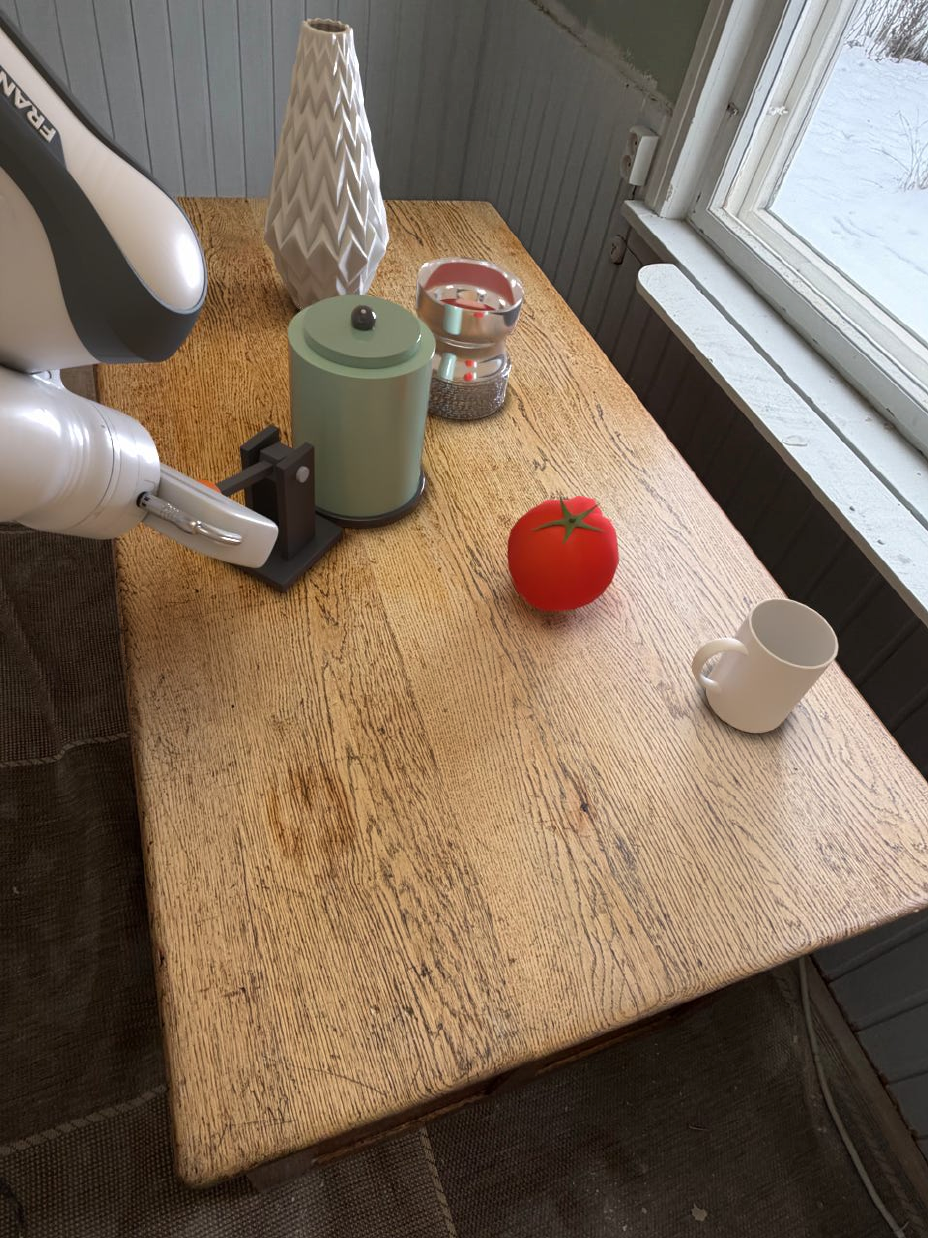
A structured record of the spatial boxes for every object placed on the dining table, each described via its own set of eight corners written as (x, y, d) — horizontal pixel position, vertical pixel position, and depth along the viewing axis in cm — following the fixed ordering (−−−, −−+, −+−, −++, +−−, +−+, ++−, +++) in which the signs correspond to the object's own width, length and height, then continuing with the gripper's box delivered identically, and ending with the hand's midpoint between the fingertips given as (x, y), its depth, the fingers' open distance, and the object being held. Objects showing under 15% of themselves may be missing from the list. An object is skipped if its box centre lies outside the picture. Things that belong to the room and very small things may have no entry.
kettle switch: (201, 537, 63) (202, 499, 61) (167, 518, 64) (167, 480, 62) (301, 481, 73) (305, 447, 71) (270, 465, 74) (273, 431, 72)
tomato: (619, 571, 84) (650, 500, 76) (579, 650, 76) (608, 579, 69) (526, 530, 86) (546, 457, 79) (478, 602, 78) (495, 529, 71)
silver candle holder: (416, 421, 96) (428, 311, 85) (391, 341, 107) (399, 234, 96) (515, 419, 100) (539, 312, 88) (481, 341, 110) (499, 237, 99)
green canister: (374, 549, 81) (386, 372, 65) (258, 488, 85) (243, 306, 69) (448, 475, 90) (474, 305, 75) (341, 423, 94) (344, 250, 78)
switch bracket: (283, 593, 76) (277, 493, 66) (218, 557, 78) (203, 454, 68) (343, 536, 82) (346, 437, 72) (282, 504, 84) (277, 403, 74)
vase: (358, 348, 105) (369, 61, 80) (245, 314, 107) (222, 22, 82) (402, 295, 116) (423, 27, 91) (299, 264, 117) (293, -7, 92)
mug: (761, 663, 78) (810, 594, 70) (798, 729, 74) (855, 664, 66) (651, 674, 76) (690, 604, 68) (683, 745, 71) (728, 678, 63)
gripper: (231, 492, 49) (325, 521, 62) (-4, 368, 53) (131, 420, 67) (190, 582, 49) (292, 592, 63) (-38, 452, 54) (102, 487, 68)
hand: (207, 503), depth 65 cm, fingers closed on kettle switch, 3 cm apart
